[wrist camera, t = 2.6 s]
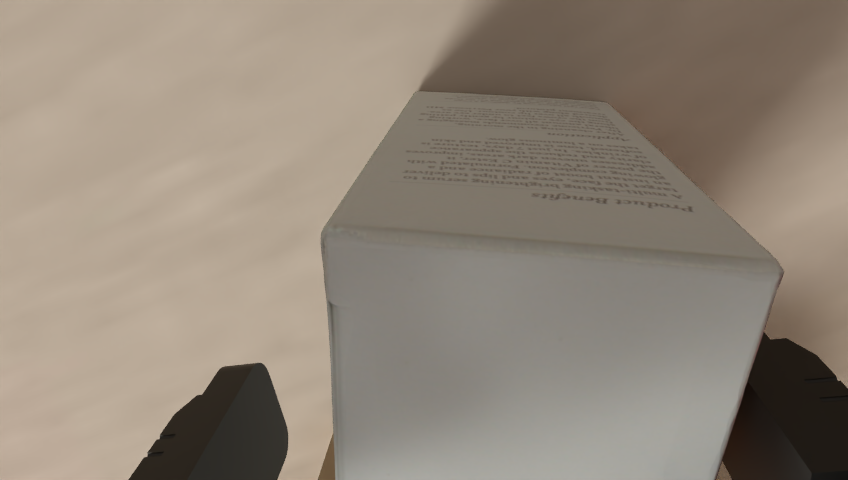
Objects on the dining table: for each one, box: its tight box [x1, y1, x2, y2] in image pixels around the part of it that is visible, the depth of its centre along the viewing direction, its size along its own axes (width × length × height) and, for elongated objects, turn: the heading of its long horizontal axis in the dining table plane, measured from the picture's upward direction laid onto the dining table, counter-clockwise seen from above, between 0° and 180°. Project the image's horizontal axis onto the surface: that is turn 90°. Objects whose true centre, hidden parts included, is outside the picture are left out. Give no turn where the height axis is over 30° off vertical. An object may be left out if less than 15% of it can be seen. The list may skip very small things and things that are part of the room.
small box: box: [321, 91, 784, 480], centre depth 13 cm, size 8×6×10 cm
